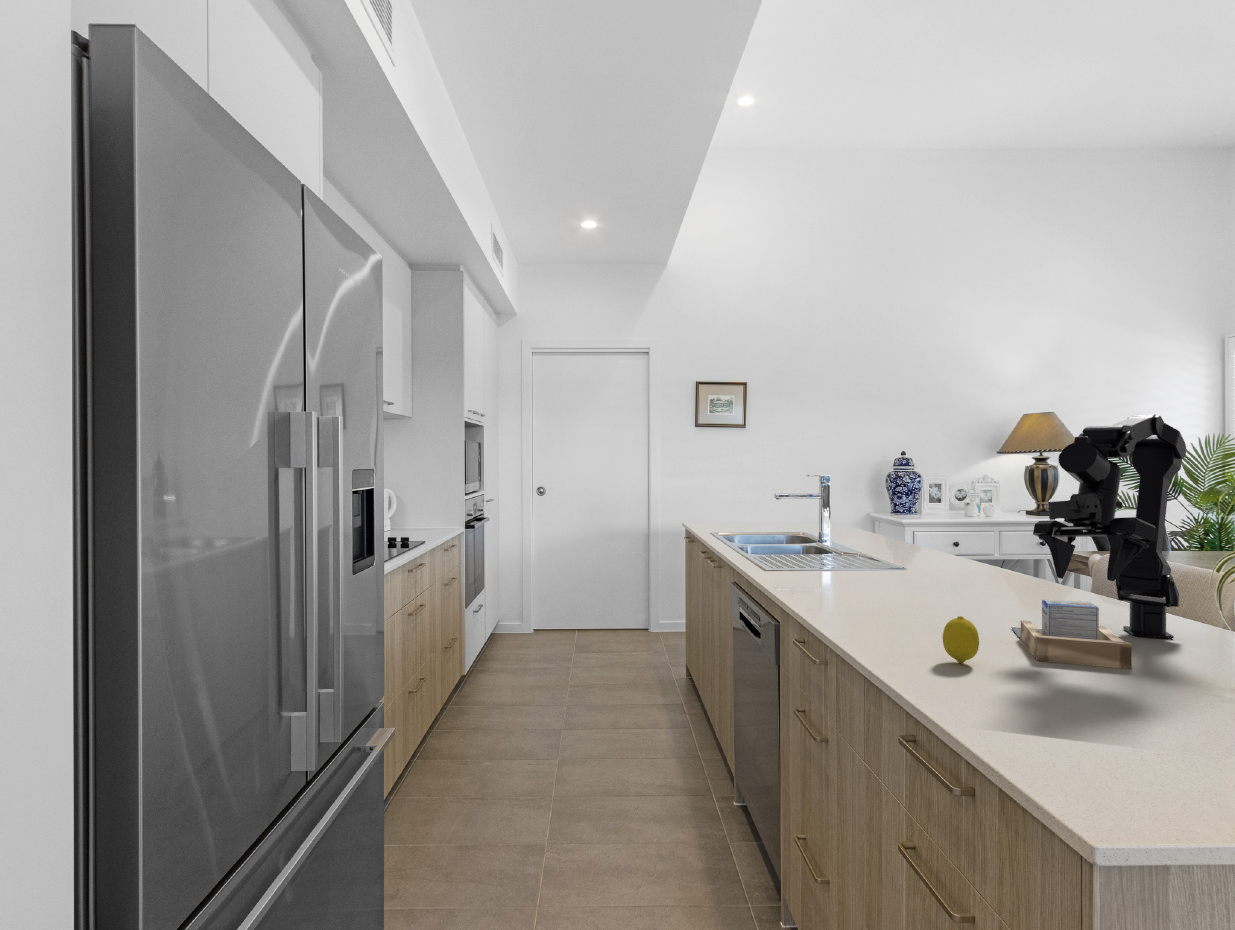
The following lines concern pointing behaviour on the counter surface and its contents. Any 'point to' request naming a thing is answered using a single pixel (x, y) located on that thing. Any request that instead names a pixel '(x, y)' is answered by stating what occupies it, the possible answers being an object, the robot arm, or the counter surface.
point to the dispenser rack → (1078, 648)
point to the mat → (1018, 631)
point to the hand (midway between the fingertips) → (1084, 579)
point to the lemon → (960, 639)
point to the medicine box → (1070, 619)
